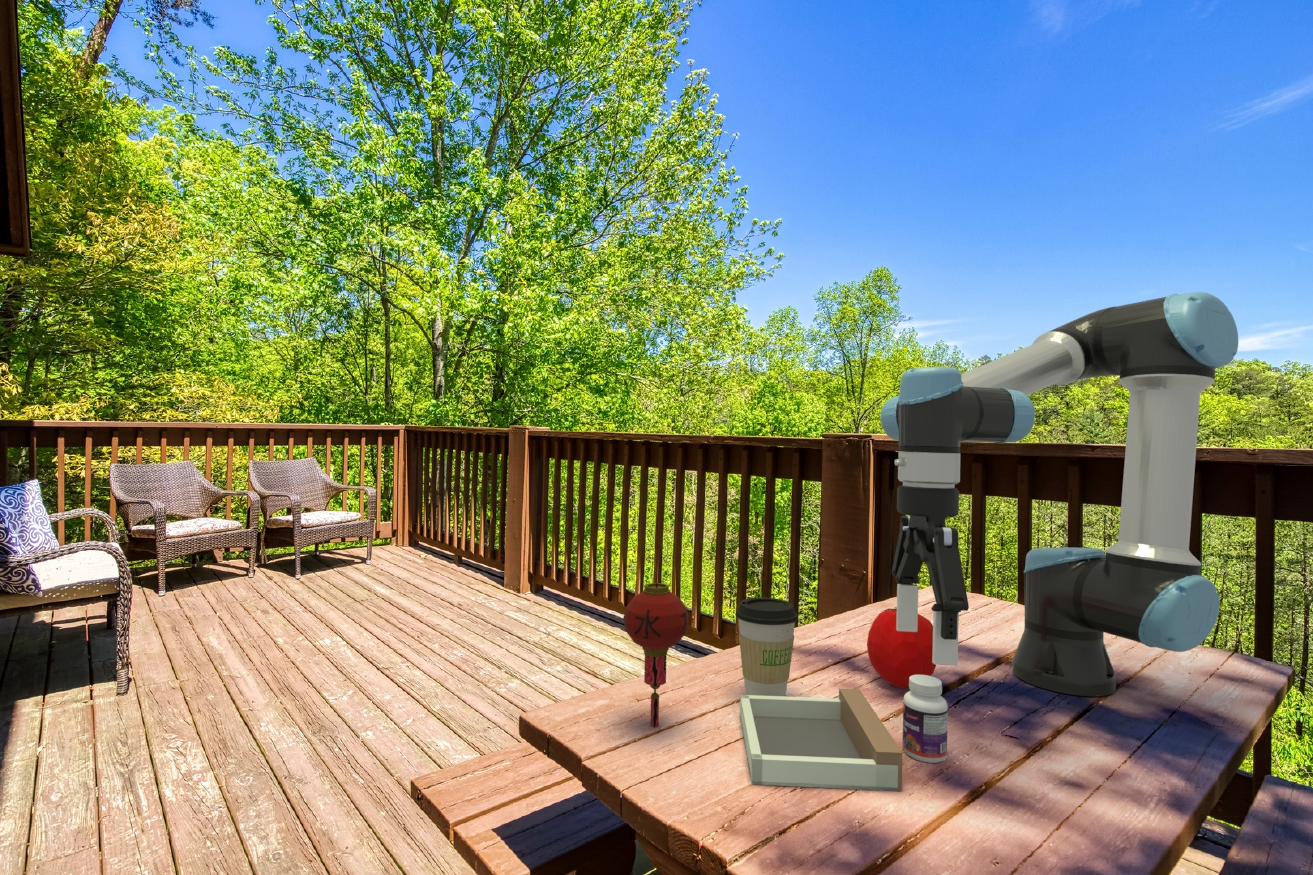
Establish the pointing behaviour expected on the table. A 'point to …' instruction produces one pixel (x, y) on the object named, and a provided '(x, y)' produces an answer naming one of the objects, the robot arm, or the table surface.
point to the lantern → (655, 630)
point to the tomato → (900, 649)
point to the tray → (819, 742)
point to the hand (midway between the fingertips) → (924, 646)
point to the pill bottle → (925, 720)
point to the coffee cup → (766, 644)
